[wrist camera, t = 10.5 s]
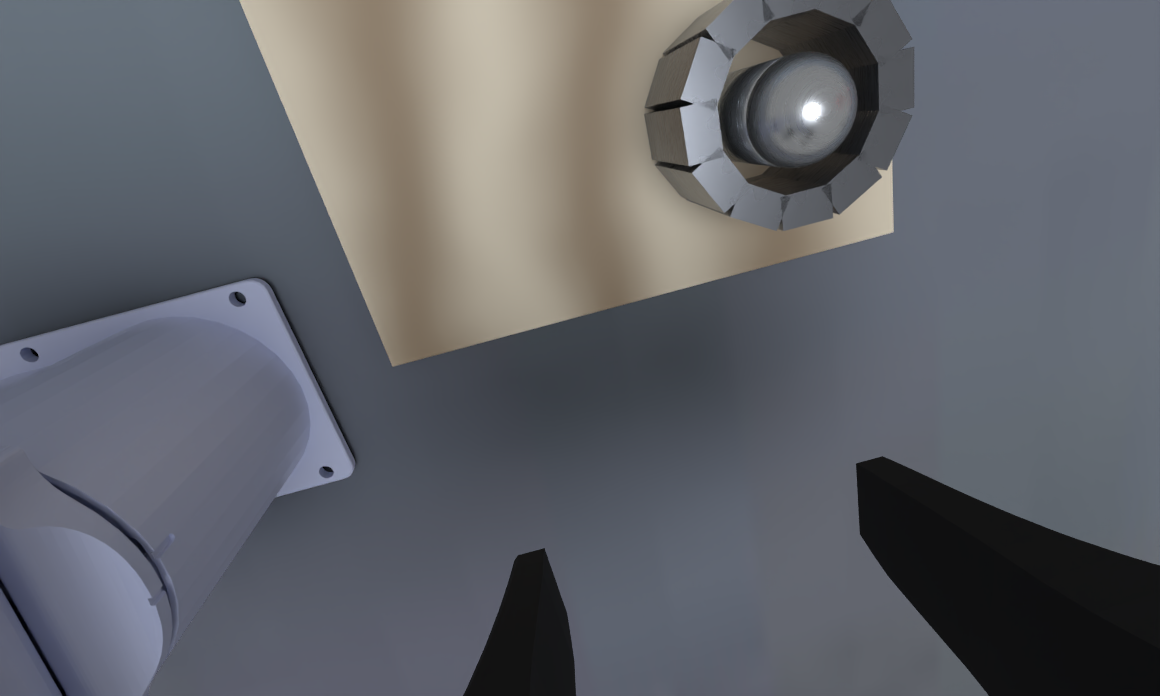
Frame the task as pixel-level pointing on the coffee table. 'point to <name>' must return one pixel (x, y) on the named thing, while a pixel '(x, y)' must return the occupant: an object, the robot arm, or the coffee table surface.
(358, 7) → the board
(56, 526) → the robot arm
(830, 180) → the ring
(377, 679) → the coffee table surface
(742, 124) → the post
